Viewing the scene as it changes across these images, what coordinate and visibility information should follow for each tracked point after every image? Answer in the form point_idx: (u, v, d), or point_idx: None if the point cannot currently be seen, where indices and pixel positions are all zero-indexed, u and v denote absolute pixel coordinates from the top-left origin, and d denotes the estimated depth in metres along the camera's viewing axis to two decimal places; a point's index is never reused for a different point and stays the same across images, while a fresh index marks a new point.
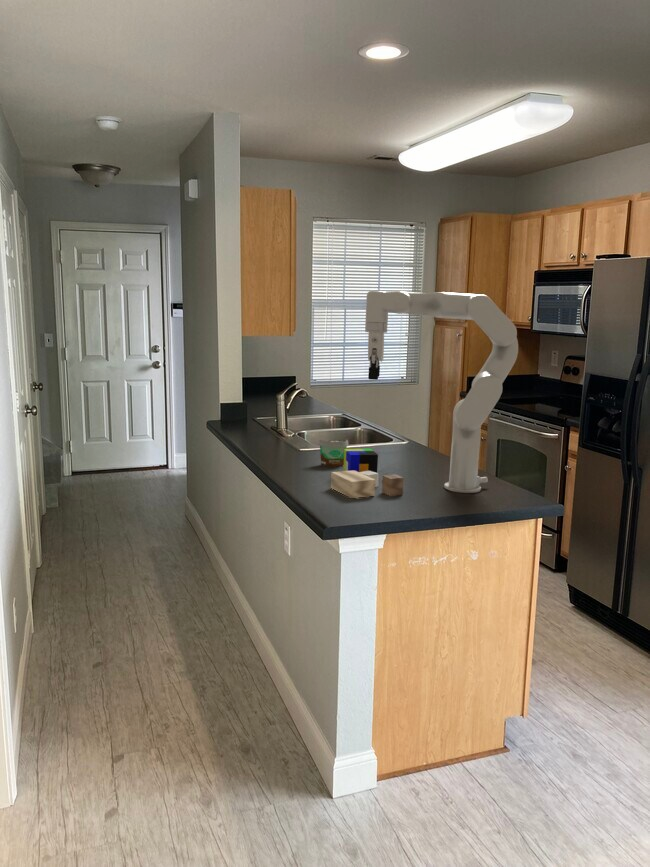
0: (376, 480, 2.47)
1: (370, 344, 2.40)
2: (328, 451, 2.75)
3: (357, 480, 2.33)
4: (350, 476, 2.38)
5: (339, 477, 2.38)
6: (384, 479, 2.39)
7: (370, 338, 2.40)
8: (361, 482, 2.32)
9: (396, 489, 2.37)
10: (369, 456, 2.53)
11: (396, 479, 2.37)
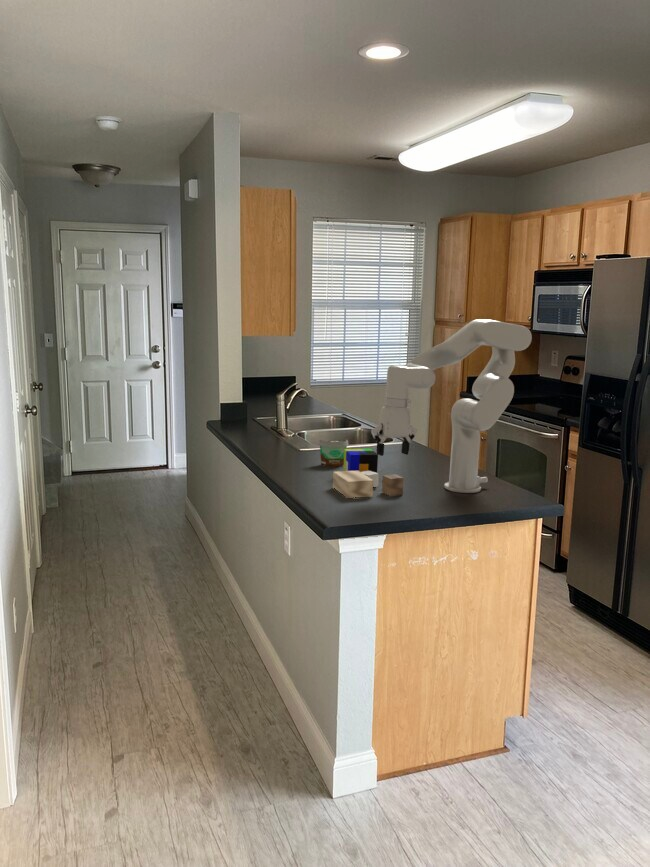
0: (376, 480, 2.47)
1: None
2: (328, 451, 2.75)
3: (354, 480, 2.33)
4: (350, 476, 2.38)
5: (339, 477, 2.38)
6: (384, 479, 2.39)
7: (409, 414, 2.36)
8: (358, 482, 2.32)
9: (396, 489, 2.37)
10: (369, 456, 2.53)
11: (396, 479, 2.37)
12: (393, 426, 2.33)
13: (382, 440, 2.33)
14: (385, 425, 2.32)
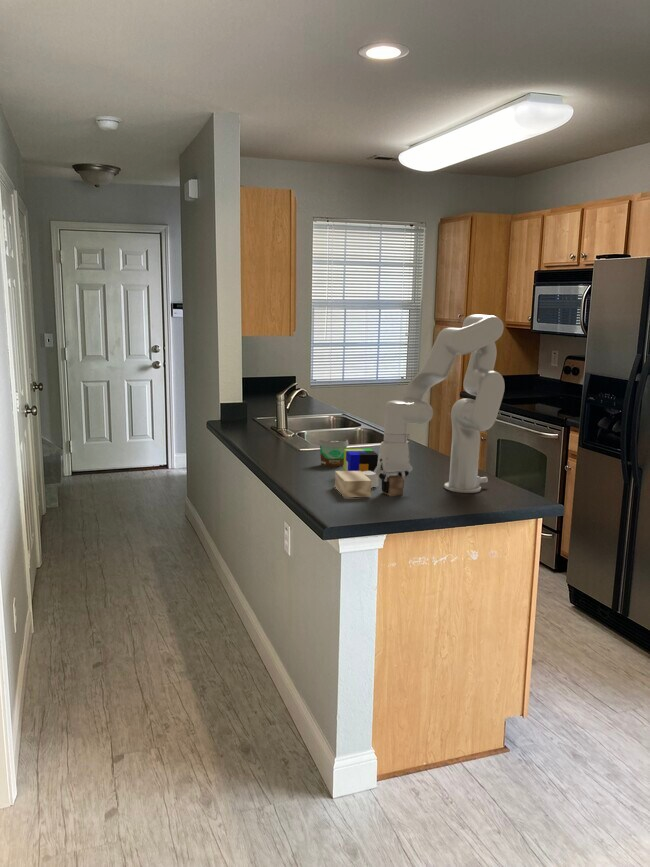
0: (376, 480, 2.47)
1: None
2: (328, 451, 2.75)
3: (352, 480, 2.33)
4: (349, 476, 2.38)
5: (339, 476, 2.39)
6: None
7: (408, 448, 2.38)
8: (355, 482, 2.32)
9: (396, 489, 2.37)
10: (369, 456, 2.53)
11: (396, 479, 2.37)
12: (392, 461, 2.35)
13: (386, 478, 2.36)
14: (384, 460, 2.34)
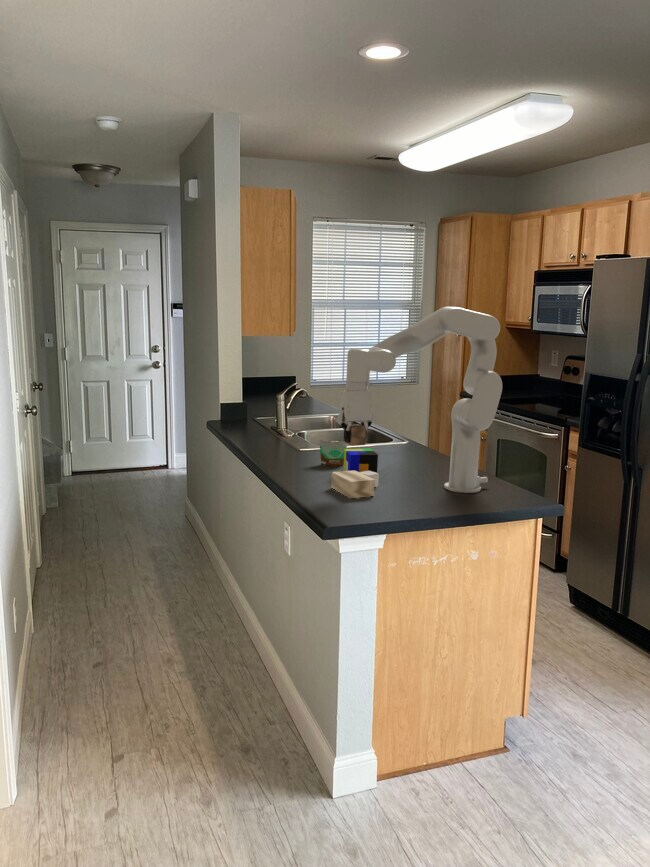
0: (376, 480, 2.47)
1: None
2: (328, 451, 2.75)
3: (356, 480, 2.33)
4: (350, 476, 2.38)
5: (339, 477, 2.38)
6: None
7: None
8: (360, 482, 2.32)
9: (358, 439, 2.34)
10: (369, 456, 2.53)
11: (358, 428, 2.33)
12: (354, 410, 2.32)
13: (348, 427, 2.33)
14: (346, 409, 2.31)
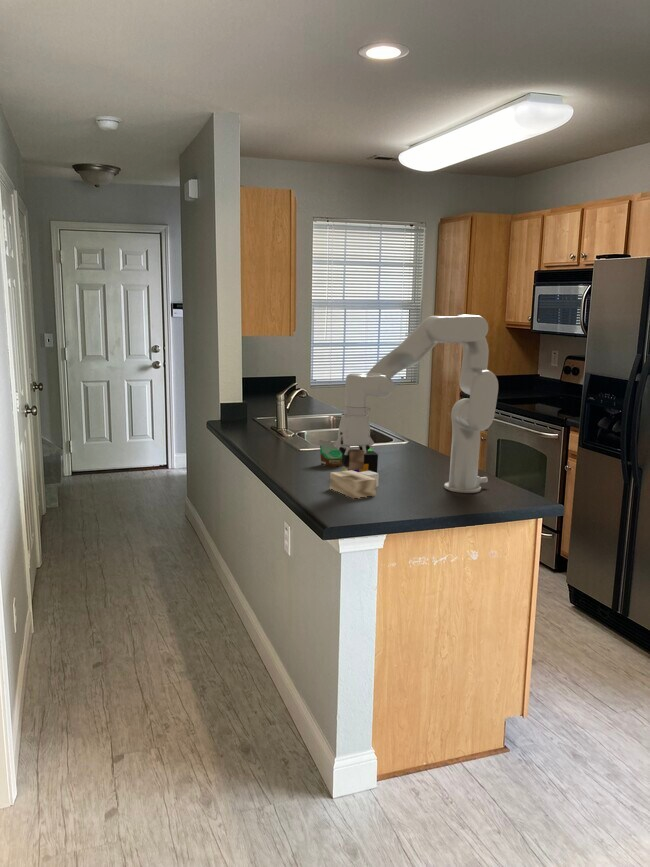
0: (376, 480, 2.47)
1: None
2: (328, 451, 2.75)
3: (359, 480, 2.33)
4: (350, 476, 2.38)
5: (339, 477, 2.37)
6: None
7: None
8: (363, 482, 2.33)
9: (356, 463, 2.36)
10: (369, 456, 2.53)
11: (356, 452, 2.35)
12: (352, 434, 2.33)
13: (346, 451, 2.34)
14: (344, 434, 2.32)
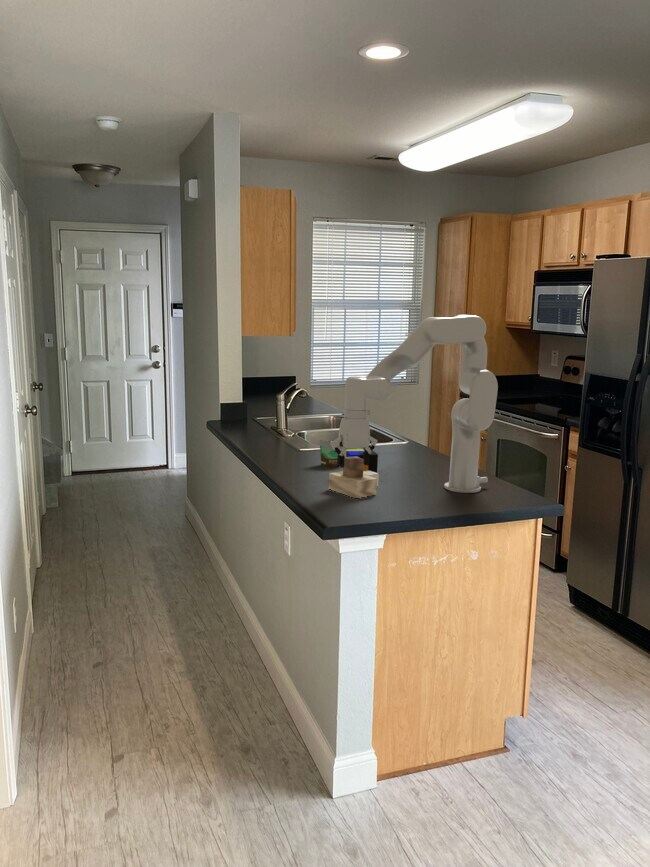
0: None
1: None
2: (328, 451, 2.75)
3: (361, 480, 2.33)
4: None
5: (340, 478, 2.37)
6: (344, 461, 2.38)
7: None
8: (365, 482, 2.33)
9: (356, 471, 2.36)
10: None
11: (356, 461, 2.35)
12: (352, 437, 2.33)
13: (342, 452, 2.34)
14: (344, 437, 2.33)
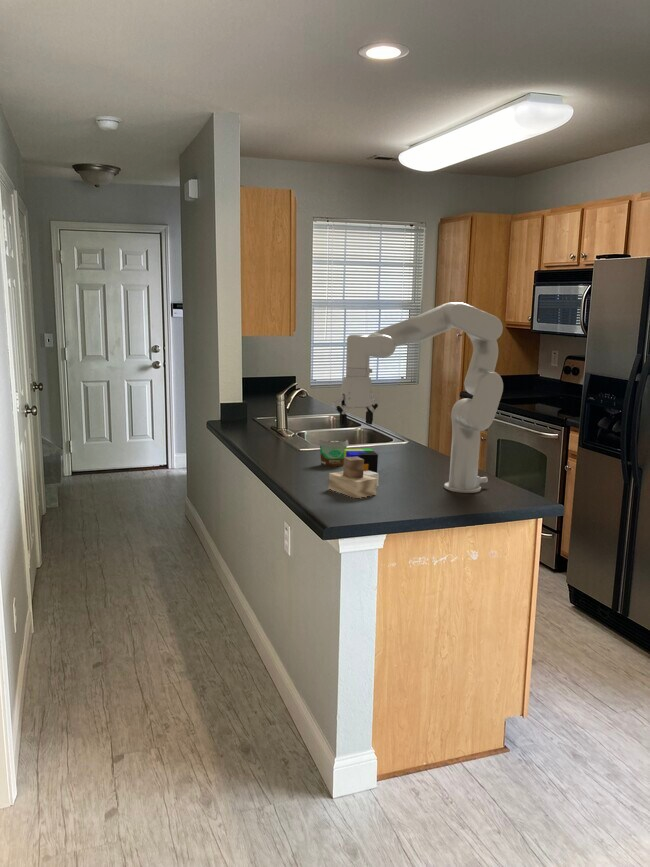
0: None
1: None
2: (328, 451, 2.75)
3: (360, 480, 2.33)
4: None
5: (340, 478, 2.37)
6: (345, 461, 2.38)
7: None
8: (365, 482, 2.33)
9: (356, 471, 2.36)
10: (369, 456, 2.53)
11: (356, 461, 2.35)
12: (355, 396, 2.31)
13: (344, 410, 2.31)
14: (346, 395, 2.30)
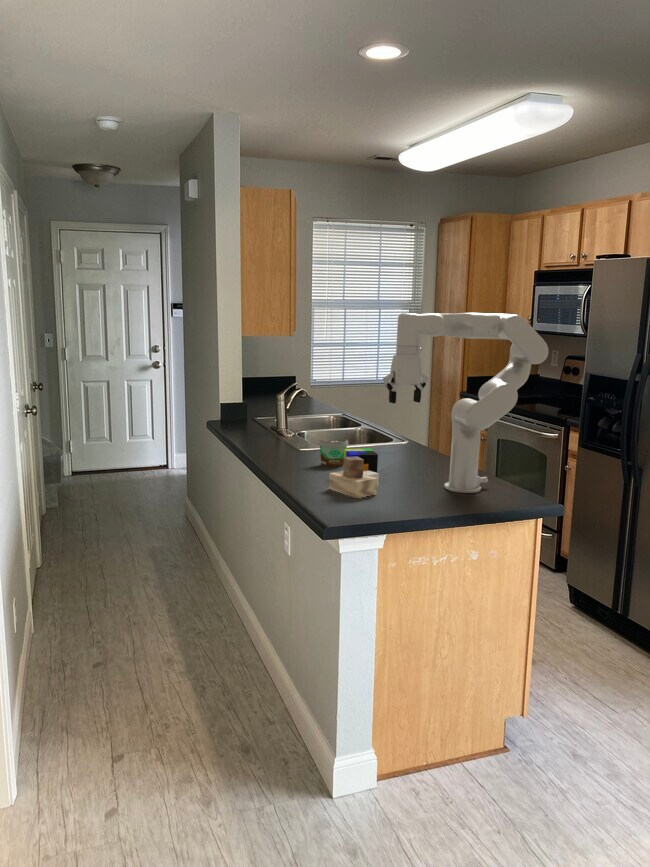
0: None
1: None
2: (328, 451, 2.75)
3: (361, 480, 2.33)
4: None
5: (340, 478, 2.37)
6: (345, 461, 2.38)
7: (420, 361, 2.38)
8: (365, 482, 2.33)
9: (356, 471, 2.36)
10: (369, 456, 2.53)
11: (356, 461, 2.35)
12: (405, 373, 2.35)
13: (394, 388, 2.35)
14: (397, 372, 2.34)
